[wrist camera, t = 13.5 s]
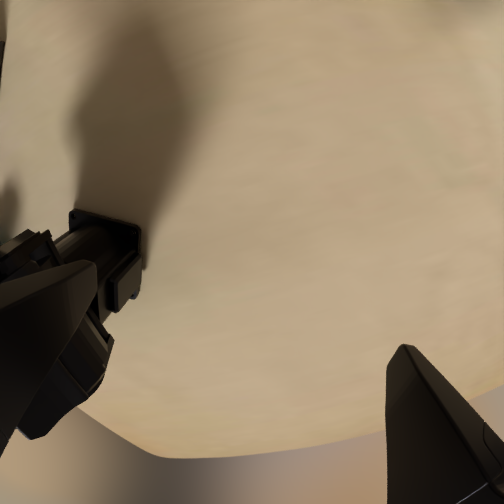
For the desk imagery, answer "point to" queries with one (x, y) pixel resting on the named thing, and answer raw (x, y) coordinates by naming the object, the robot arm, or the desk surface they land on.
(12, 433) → the robot arm
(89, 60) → the desk surface
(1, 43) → the phone stand
